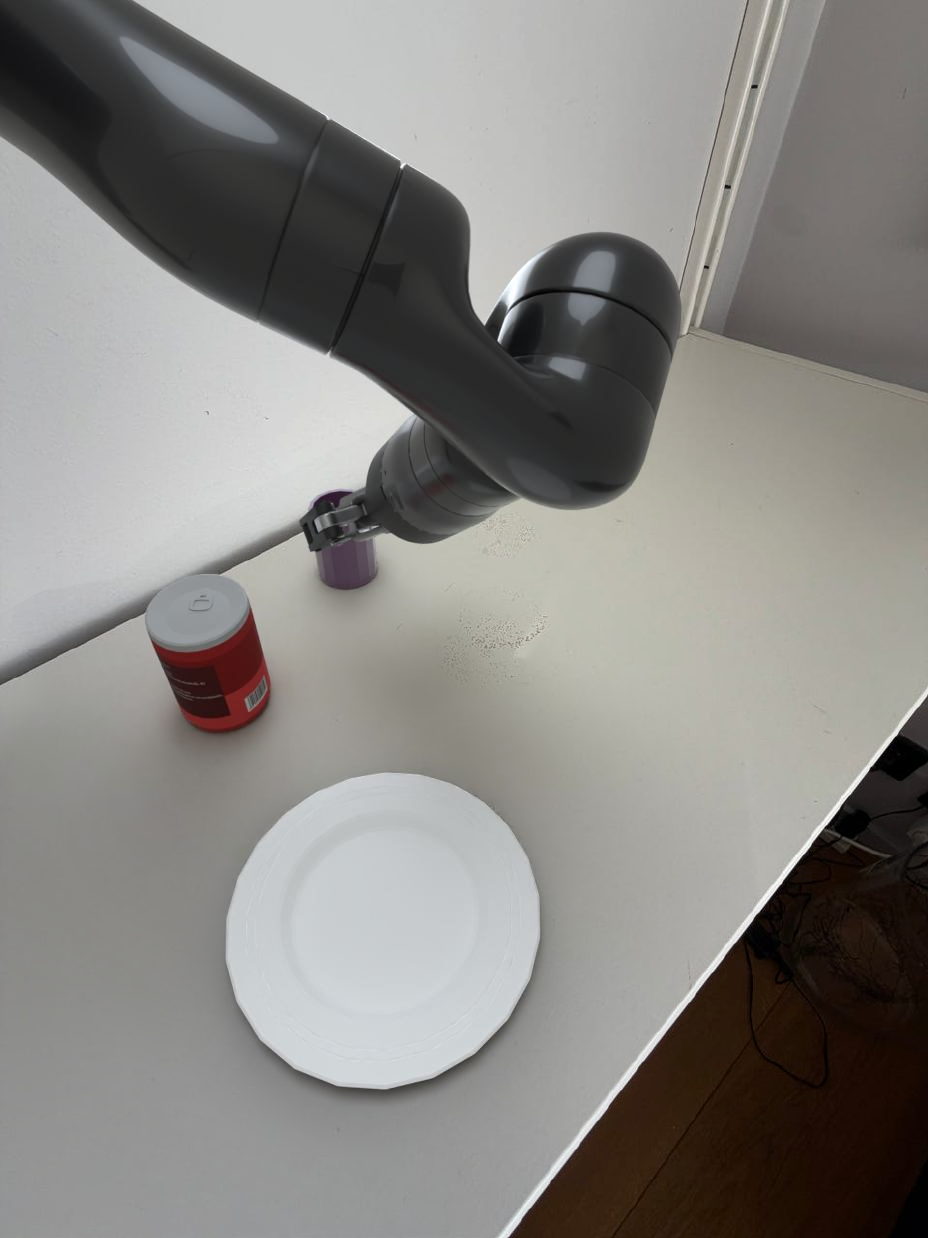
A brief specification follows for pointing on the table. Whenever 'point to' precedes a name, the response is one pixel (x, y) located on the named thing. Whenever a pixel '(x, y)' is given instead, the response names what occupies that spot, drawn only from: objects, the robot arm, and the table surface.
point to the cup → (345, 553)
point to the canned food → (210, 651)
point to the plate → (382, 930)
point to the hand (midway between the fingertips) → (376, 520)
